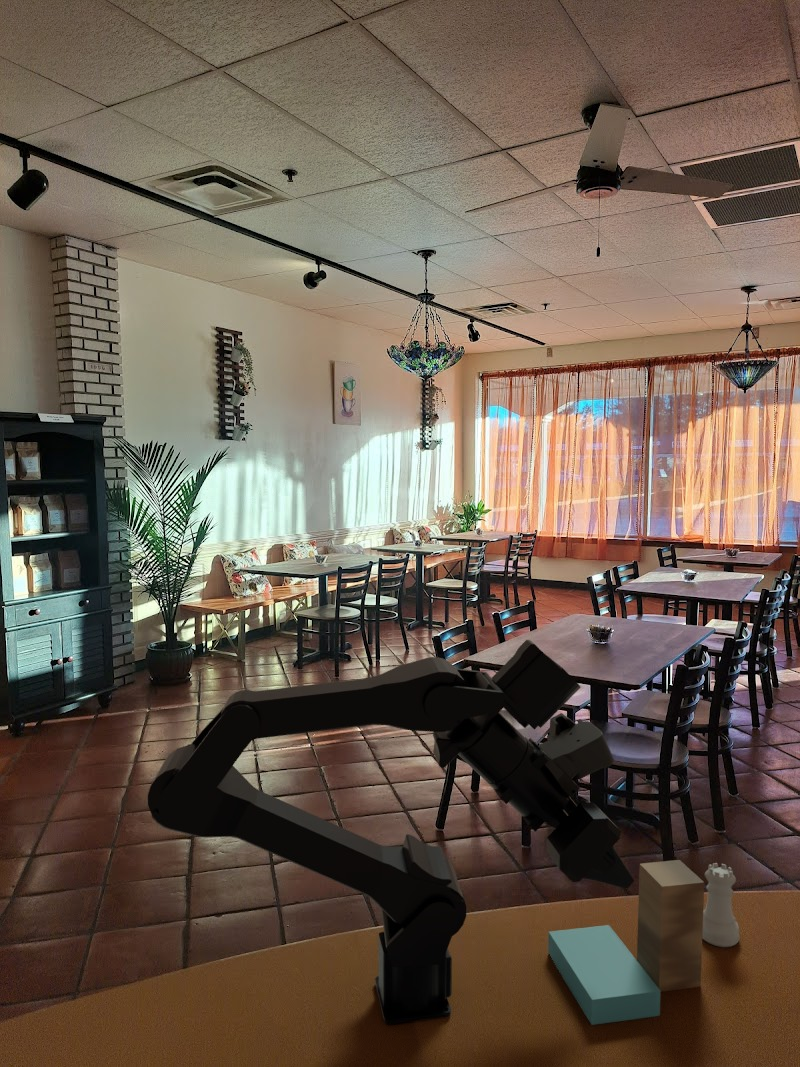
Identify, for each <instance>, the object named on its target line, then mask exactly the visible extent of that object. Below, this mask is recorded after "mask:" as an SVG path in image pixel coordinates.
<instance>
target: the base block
mask: <svg viewBox="0 0 800 1067" xmlns="http://www.w3.org/2000/svg"><path fill="white" fill-rule="evenodd" d="M547 942H548V945H547V946H548V949H547V950H548V952H547V954H548V953H549V954H550V956H551V958H552V959H551V958H550V959H551V961H552V960H553V961H554V962H553V961H552V962H553V964H554V963H555V964H554V966H555V965H556V966H555V967H556V969H557V970H559V971H558V972H559V974H560V973H561V974H560V976H561V975H562V976H561V977H562V979H563V981H564V982H565V984H566V985H567V987H568V989H569V991H570V992H571V993H572V995H573V998H574V999H575V1000H576V1002H577V1003H578V1005H579V1007H580V1008H581V1010H582V1012H583V1013H584V1016H586V1018H587V1020H588V1021H589V1023H590V1025H591V1026H595V1025H602V1024H607V1023H608V1024H609V1023H610V1024H611V1023H617V1022H623V1021H630V1020H631V1021H632V1020H639V1019H645V1018H653V1017H660V1016H661V993H662V992H661V991H660V990H659V988H658V987H657V986H656V984H655V983H654V982H653V981H652V979H651V978H650V977H649V975H648V974H647V973H646V972H645V970H644V969H643V968H642V967H641V965H640V964H639V963H638V961H637V958H635V956H634V955H633V954H632V953H631V951H630V950H629V949H628V947H627V946H626V945H625V943H624V942H623V941H622V940H621V938H620V937H619V936H618V934H617V933H616V932H615V930H613V928H612V927H611V926H610V924H605V925H598V926H588V927H579V928H571V929H570V928H568V929H562V930H561V929H560V930H552V931H548V941H547ZM549 954H548V955H549ZM550 956H549V957H550Z"/></svg>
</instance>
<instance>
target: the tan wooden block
mask: <svg viewBox="0 0 800 1067" xmlns="http://www.w3.org/2000/svg"><path fill="white" fill-rule="evenodd" d="M638 871H639V874H638V875H639V877H638V904H637V905H638V908H637V910H638V911H637V912H638V915H637V946H636V947H637V948H636V949H637V950H636V960H637V961H638V963H639V964H640V965H641V967H642V968H643V969H644V970H645V972H646V973H647V974H648V975H649V977H650V978H651V979H652V981H653V982H654V983H655V984H656V986H657V987H658V988H659V990H660V991H661V993H662V992H668V991H669V992H670V991H677V990H685V989H693V988H699V987H700V988H701V986H702V962H703V960H702V958H703V956H702V954H703V938H702V934H703V910H704V905H705V904H704V903H705V902H704V900H705V899H704V898H705V882H704V881H703V879H701V878H700V876H698V875H697V874H696V873H695V872H694V871H692V870H691V868H689V867H688V866H687V865H686V864H685V863H684V862H683V861H682V860H680V859H675V860H674V859H673V860H666V861H665V860H664V861H653V862H644V863H639V870H638Z"/></svg>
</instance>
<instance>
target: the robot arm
mask: <svg viewBox="0 0 800 1067" xmlns="http://www.w3.org/2000/svg"><path fill="white" fill-rule="evenodd" d="M580 689H581V685H580V684H579V683H578V682H577V681H576V680H575V678H573V677H572V676H571V675H570V674H569V673H568V672H567V671H566V670H565V669H564V668H563V667H562V666H561V665H559V664H558V663H557V662H556V661H554V659H552V658H550V656H548V655H547V654H546V653H545V652H543V651H542V650H541V649H540V647H538V646H537V645H536V644H535V643H534V642H533V641H532V640H531V639H526V640H525V641H524V642H523V643H522V644H521V645H520V646H519V647H518V648H517V650H516V651H515V653H514V655H512V657H510V658H509V660H508V661H507V662H505V664H503V666H502V667H500V669H499V670H498V671H496V673H495V674H494V675H493V676H491V675H490V674H489V673H488V672H487V671H483V670H482V671H481V670H473V669H466V668H465V669H464V668H456V666H454V665H453V663H451V662H449V661H448V660H446V659H445V658H442V657H436V656H429V657H425V658H421V659H418V660H415V661H412V662H408V663H405V664H402V665H398V666H396V667H394V668H392V669H389V670H386V671H385V672H383V673H381V674H379V675H374V676H371V677H368V678H361V679H350V680H341V681H334V682H333V681H332V682H324V683H323V682H322V683H317V684H307V685H298V686H291V687H290V686H289V687H282V688H273V689H265V690H262V689H261V690H257V691H256V690H249V689H242V690H238V691H235V692H234V693H232V694H231V695H230V696H229V697H228V699H227V700H226V701H225V703H224V706H223V707H222V709H221V710H219V711H218V713H217V714H216V715H215V716H214V717H213V718H212V719H211V721H209V723H207V724H206V725H205V727H204V728H203V729H202V730H201V731H200V733H199V734H198V735H197V736H196V737H195V738H194V740H193V741H192V742H191V743H189V744H187V745H183V746H181V747H177V748H176V749H175V750H173V751H172V752H171V753H169V754H168V756H167V757H166V758H165V759H164V761H163V763H162V765H161V766H160V768H159V769H158V772H157V774H156V775H155V777H154V779H153V781H152V783H151V785H150V786H149V789H148V792H147V806H148V808H149V811H150V814H151V819H153V821H154V822H155V823H156V824H157V825H159V826H160V827H162V828H164V829H167V830H170V831H174V832H178V833H182V834H186V835H189V836H194V837H198V838H235V839H239V840H240V841H243V842H246V843H247V844H250V845H252V846H254V847H256V848H259V849H261V850H263V851H266V852H268V853H269V854H272V855H275V856H277V857H279V858H281V859H283V860H287V861H289V862H291V863H293V864H294V865H297V866H300V867H301V868H304V869H306V870H309V871H310V872H313V873H315V874H318V875H320V876H322V877H324V878H326V879H329V880H332V881H334V882H336V883H338V884H340V885H342V886H345V887H347V888H350V889H352V890H353V891H356V892H358V893H361V894H363V895H365V896H367V897H369V898H370V899H371V900H373V902H374V903H376V905H377V906H378V907H379V908H380V911H381V919H382V925H383V926H382V927H383V931H381V932H379V933H378V976H376V977H375V979H374V981H375V982H374V983H375V987H376V993H377V997H378V1001H379V1005H380V1008H381V1013H382V1014H381V1016H382V1019H383V1021H384V1022H383V1023H385V1024H387V1025H394V1024H400V1023H409V1022H417V1021H418V1022H419V1021H426V1020H432V1019H441V1018H448V1017H450V1016H451V1014H452V1013H451V1012H452V1008H451V1005H450V1002H449V1000H448V999H449V998H451V996H452V985H453V984H452V983H453V982H452V979H453V977H452V976H453V974H452V973H453V971H452V969H453V968H452V967H453V965H452V964H453V963H452V961H453V958H452V955H451V953H450V950H449V945H450V943H451V941H452V940H451V939H453V936H454V935H456V934H457V933H459V931H460V930H461V928H463V926H464V924H465V921H466V918H467V905H466V901H465V898H464V896H463V893H462V890H461V889H462V888H461V886H460V883H459V880H458V877H457V873H456V871H455V868H454V866H453V863H452V861H450V860H449V858H448V857H446V856H445V855H444V852H443V849H442V846H436V845H435V846H433V845H430V844H426V843H424V842H422V841H421V840H419V838H417V837H415V836H414V835H411V834H406V835H405V838H404V841H403V844H402V845H401V846H400V845H397V846H385V845H381V844H379V843H376V842H374V841H373V840H370V839H367V838H365V837H363V836H362V835H358V834H356V833H354V832H352V831H350V830H348V829H346V828H344V827H341V826H339V825H336V824H335V823H332V822H330V821H329V820H326V819H324V818H321V817H319V816H317V815H315V814H312V813H311V812H308V811H306V810H303V809H302V808H300V807H297V806H295V805H292V804H290V803H288V802H286V801H284V800H281V799H280V798H277V797H275V796H272V795H270V794H268V793H265V792H263V791H261V790H259V789H257V788H256V787H255V786H254V785H252V784H251V783H250V782H249V781H248V780H247V778H245V777H244V776H243V774H242V773H241V772H240V771H239V770H238V769H237V768H236V767H235V766H234V765H235V763H236V762H237V760H238V759H239V758H240V756H241V754H242V753H243V752H244V751H245V749H247V747H248V746H249V744H250V743H251V742H252V741H254V740H258V739H265V738H266V739H267V738H274V737H282V736H291V735H298V734H306V733H315V732H316V733H317V732H323V731H332V730H341V729H348V728H350V729H351V728H356V727H364V726H365V727H366V726H388V727H392V728H396V729H401V730H405V731H411V732H412V731H414V732H416V731H417V732H430V733H431V732H432V737H433V742H434V743H433V750H432V753H433V755H434V757H435V759H436V761H437V764H438V766H439V768H442V769H443V768H446V767H447V766H448V765H450V764H451V762H452V761H453V760H454V759H456V757H457V756H459V758H461V759H462V760H463V761H464V762H465V763H466V764H467V765H468V766H469V767H470V768H471V769H473V770H474V771H475V772H476V773H477V774H478V775H479V776H480V777H481V778H482V779H483V780H484V781H485V782H486V783H487V784H488V785H489V786H490V787H491V788H492V789H493V790H494V792H495V793H496V795H497V796H498V798H499V799H500V800H502V802H504V804H506V805H508V804H509V805H510V806H511V807H513V809H514V810H515V811H516V812H518V813H519V815H521V816H522V818H523V820H524V821H525V822H526V824H527V826H529V828H530V829H532V830H533V831H534V832H537V831H538V830H539V829H540V828H541V827H542V825H544V824H545V825H547V826H549V827H551V828H554V830H552V832H550V834H549V835H548V836H547V837H546V852H547V854H548V856H550V858H551V859H552V861H553V862H554V864H555V866H557V868H558V870H560V871H561V873H563V875H564V876H566V877H567V878H568V879H569V880H570V881H571V882H572V883H577V882H581V881H582V879H584V880H589V881H593V882H594V881H595V882H599V883H603V884H608V885H611V886H615V887H619V888H622V889H629V888H630V887H631V885H633V883H634V882H635V878H634V877H633V875H632V874H631V873H630V871H629V869H628V868H627V866H626V865H625V863H624V862H623V860H622V858H621V857H620V856H619V854H618V851H616V849H615V846H614V845H616V843H617V842H618V841H619V840H620V839H621V838H620V837H621V834H622V831H621V829H620V828H619V827H618V826H617V825H616V824H615V823H614V822H613V821H612V820H611V819H610V818H609V817H608V816H607V814H606V813H604V811H602V810H601V809H600V808H599V807H598V806H597V805H596V804H595V803H594V802H591V801H590V802H579V803H578V804H576V803H575V801H574V800H573V799H572V798H573V797H574V796H575V794H576V793H577V792H578V791H579V790H580V789H581V787H580V786H579V785H578V784H577V783H576V782H575V781H580V780H582V779H583V778H585V777H588V776H589V775H591V774H593V773H595V772H597V771H599V770H601V769H606V768H609V767H610V766H612V764H613V763H614V761H615V758H614V756H613V754H612V752H611V750H610V747H609V745H608V743H607V740H606V738H605V735H604V734H603V733H604V732H602V731H601V729H599V728H598V727H597V726H596V725H594V724H593V723H592V722H590V721H588V720H583V719H581V718H579V719H577V723H575V722H574V721H573V720H572V719H570V718H569V717H568V716H566V714H564V713H562V712H560V713H559V714H557V715H555V714H556V713H557V712H558V711H559V710H560V709H561V708H562V707H563V706H564V705H565V704H566V703H567V702H568V701H569V700H570V699H571V698H572V697H573V696H574V695H575V694H576V693H578V691H579V690H580ZM503 709H504V710H505V711H506V712H507V713H508V714H509V715H510V716H511V717H512V718H513V719H514V720H515V721H517V723H518V724H519V725H520V726H522V727H523V728H524V729H527V727H528V726H530V727H531V728H532V729H533V730H536V729H537V728H540V729H541V728H543V726H545V724H547V723H548V722H549V734H547V735H546V739H547V741H544V742H543V743H542V744H541V743H540V745H538V744H537V743H536V742H535V740H533V739H532V738H531V737H530V738H529V739H528V738H527V737H526V736H524V735H523V734H522V733H521V732H520V731H519V730H518V729H517V728H516V727H515V726H514V725H513V724H512V723H511V722H510V721H508V719H507V718H506V717H504V716H503V715H502V714H501V711H502V710H503ZM554 715H555V716H554Z"/></svg>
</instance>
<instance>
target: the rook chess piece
mask: <svg viewBox="0 0 800 1067" xmlns="http://www.w3.org/2000/svg"><path fill="white" fill-rule="evenodd" d="M707 868H708V869H706V871H705V872H704V878H706V880H707V881H708V884H707V885H706V886H705V888H706V891H707V898H706V904H705V908H703V934H702V941H703V940H704V941H705V942H707V943H708V944H710V945H713V946H714V947H719V948H732V947H734V946H735V945H737V943H738V942H739V941H740V940H741V938H740V934H739V932H740V927H739V923H738V922H737V921H736V917H735V916H734V914H733V904H732V896H733V894H734V890H733V889H732V887H733V885H735V883H736V882H737V878H736V876H735V875H734V873H733V868H732V867H731V866H729V867H727V865H726V864H724V863H721V866H720V867H719V864H718V863H717V862H715V863H712V864H710V863H709V864H708V867H707Z"/></svg>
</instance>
